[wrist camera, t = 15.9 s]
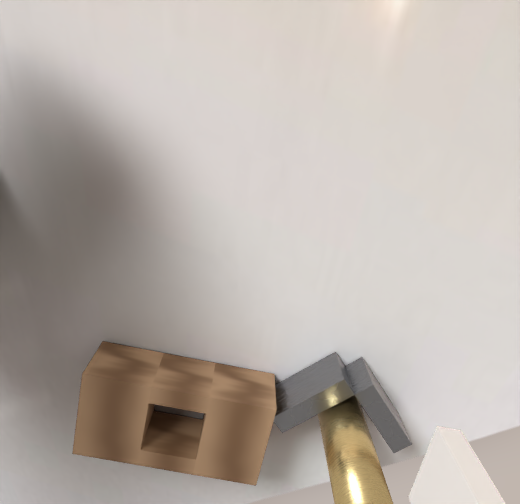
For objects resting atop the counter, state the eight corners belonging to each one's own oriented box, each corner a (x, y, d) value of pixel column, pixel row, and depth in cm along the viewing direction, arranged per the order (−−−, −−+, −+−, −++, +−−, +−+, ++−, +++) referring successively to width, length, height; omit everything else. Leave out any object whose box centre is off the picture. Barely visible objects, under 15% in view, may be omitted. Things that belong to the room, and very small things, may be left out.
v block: (267, 399, 51) (268, 430, 46) (282, 341, 49) (285, 368, 44) (393, 422, 52) (407, 455, 47) (414, 367, 50) (430, 395, 45)
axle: (310, 408, 51) (332, 540, 36) (320, 374, 50) (348, 495, 35) (349, 416, 52) (387, 549, 36) (360, 381, 50) (405, 505, 35)
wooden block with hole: (93, 413, 51) (72, 453, 46) (102, 341, 49) (82, 373, 43) (256, 443, 53) (255, 485, 47) (274, 374, 50) (276, 409, 44)
